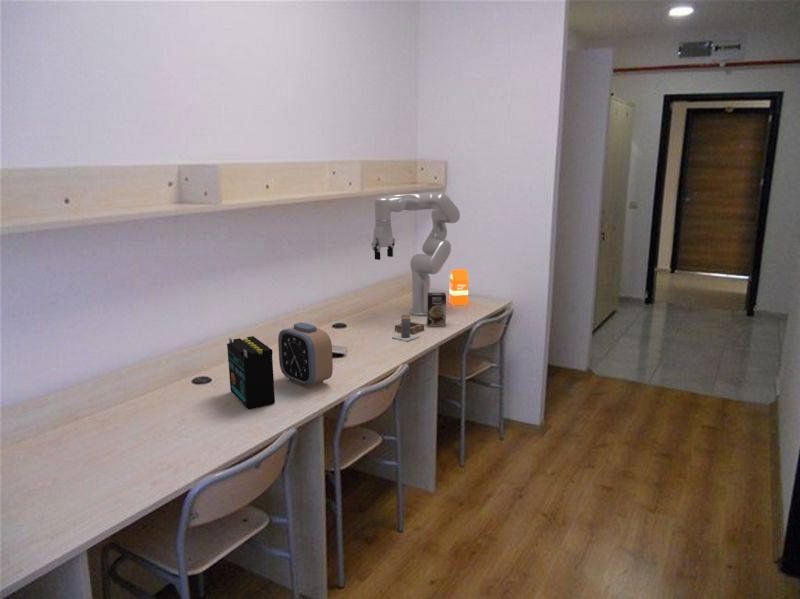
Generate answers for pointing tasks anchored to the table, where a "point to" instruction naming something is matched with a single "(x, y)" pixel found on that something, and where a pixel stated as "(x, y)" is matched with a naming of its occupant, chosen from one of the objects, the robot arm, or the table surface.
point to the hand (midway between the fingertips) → (384, 258)
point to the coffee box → (436, 310)
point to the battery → (251, 372)
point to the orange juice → (458, 287)
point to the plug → (405, 326)
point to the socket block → (411, 327)
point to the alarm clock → (305, 355)
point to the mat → (406, 338)
